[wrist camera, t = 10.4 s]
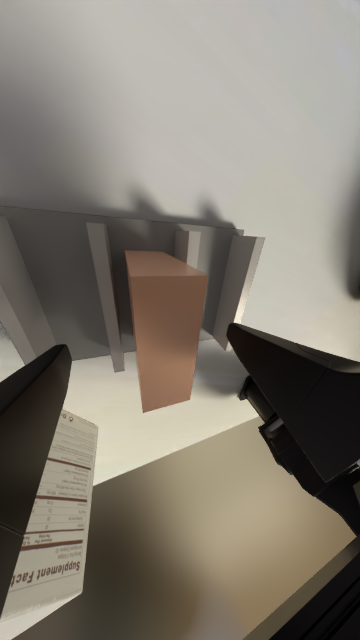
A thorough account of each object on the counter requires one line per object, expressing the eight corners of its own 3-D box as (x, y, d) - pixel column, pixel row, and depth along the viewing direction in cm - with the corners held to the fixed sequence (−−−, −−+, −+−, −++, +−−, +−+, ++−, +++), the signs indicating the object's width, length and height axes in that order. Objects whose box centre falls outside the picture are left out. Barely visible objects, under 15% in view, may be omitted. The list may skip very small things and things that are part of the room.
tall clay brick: (162, 332, 17) (189, 399, 10) (133, 336, 16) (142, 412, 9) (163, 251, 13) (208, 275, 6) (124, 250, 12) (130, 276, 5)
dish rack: (215, 333, 21) (233, 353, 17) (53, 357, 15) (35, 392, 12) (237, 229, 15) (270, 230, 12) (-12, 205, 9) (-83, 193, 6)
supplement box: (54, 453, 22) (-3, 651, 12) (-1, 438, 18) (-167, 728, 7) (100, 425, 22) (85, 594, 12) (57, 404, 18) (-25, 637, 8)
